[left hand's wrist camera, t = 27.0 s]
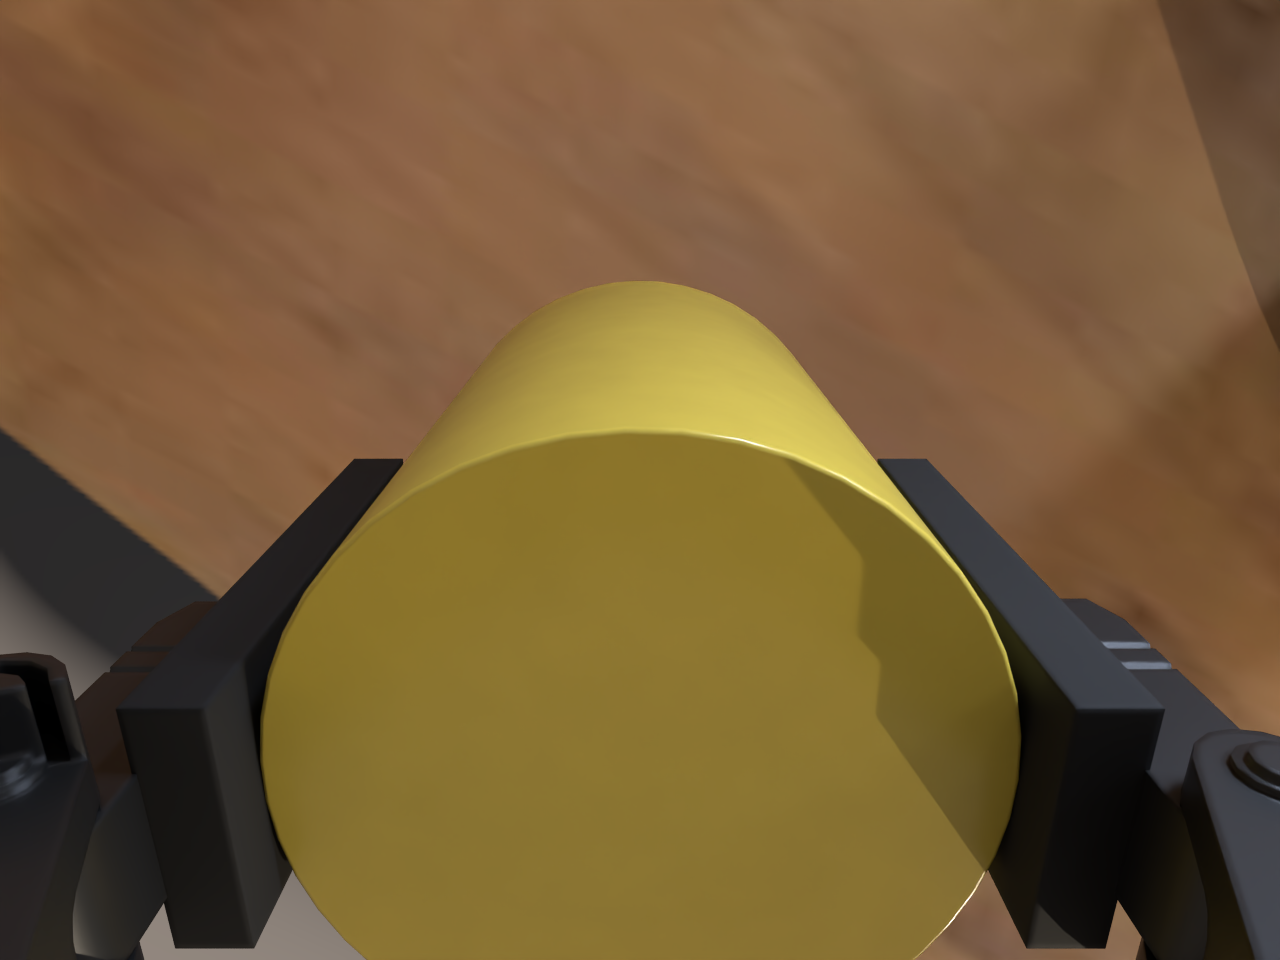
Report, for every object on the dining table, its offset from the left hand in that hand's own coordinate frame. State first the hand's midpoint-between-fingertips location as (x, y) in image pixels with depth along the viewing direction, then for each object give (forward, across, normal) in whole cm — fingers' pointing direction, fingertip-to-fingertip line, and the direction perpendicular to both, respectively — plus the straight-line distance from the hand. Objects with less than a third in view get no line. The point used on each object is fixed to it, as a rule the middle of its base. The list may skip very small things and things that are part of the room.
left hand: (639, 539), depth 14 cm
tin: (+4, 0, 0) cm, 4 cm away
